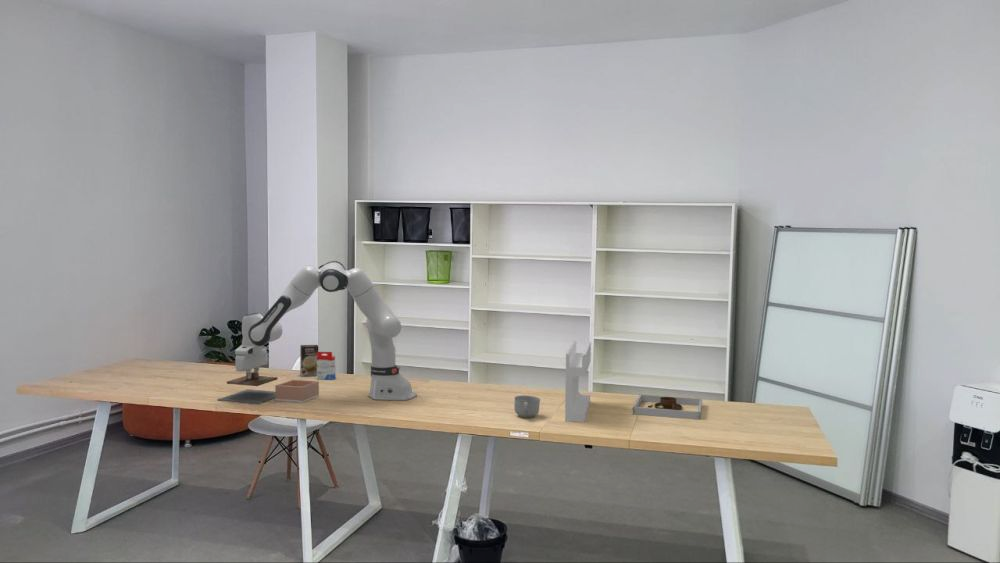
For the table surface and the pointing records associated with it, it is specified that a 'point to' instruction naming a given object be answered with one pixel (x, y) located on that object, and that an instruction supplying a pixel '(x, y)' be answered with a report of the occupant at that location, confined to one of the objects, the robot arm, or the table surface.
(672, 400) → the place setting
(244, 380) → the walnut lid
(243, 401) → the rubber mat
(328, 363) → the ink box
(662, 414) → the grey tray frame
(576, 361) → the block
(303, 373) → the coffee box
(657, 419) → the table surface
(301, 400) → the salmon open box
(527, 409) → the teacup
